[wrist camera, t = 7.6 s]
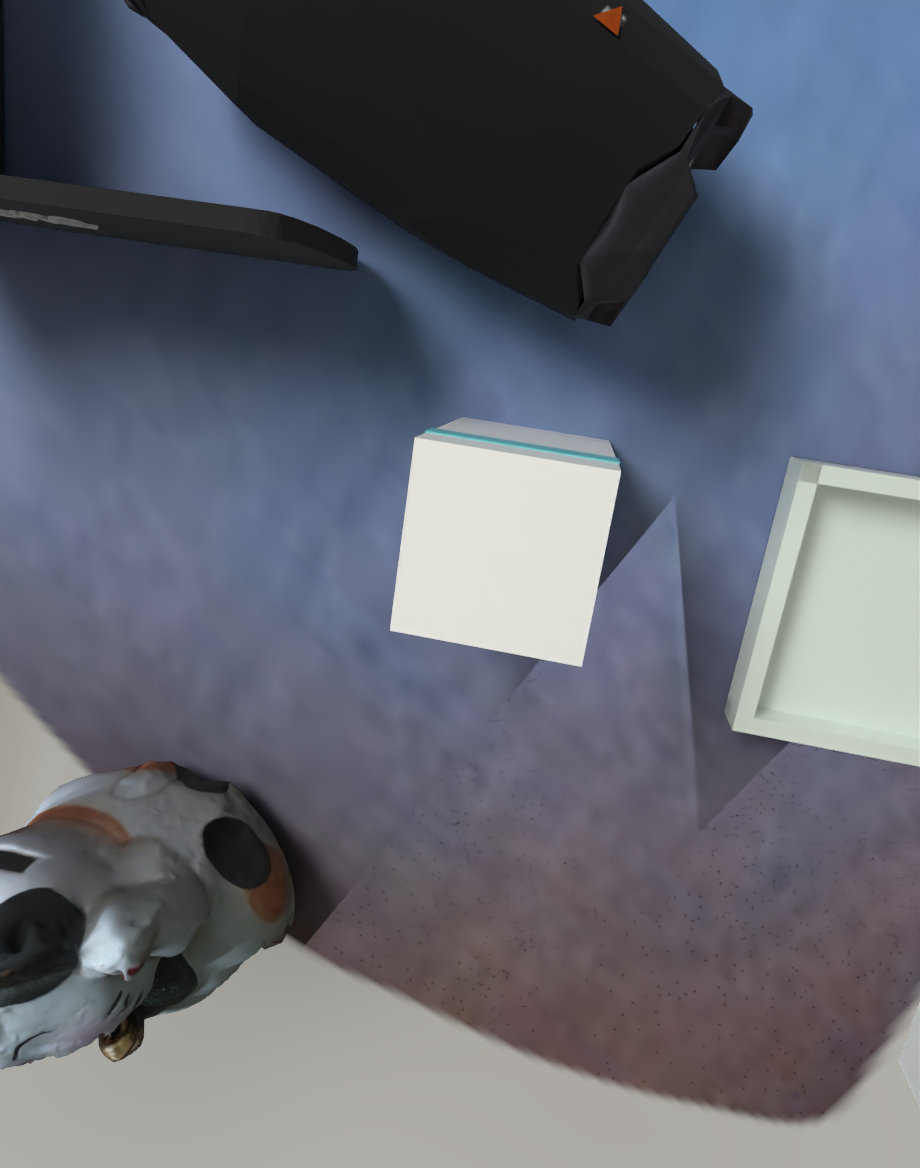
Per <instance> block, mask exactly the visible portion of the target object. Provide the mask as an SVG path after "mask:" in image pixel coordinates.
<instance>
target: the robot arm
mask: <svg viewBox="0 0 920 1168" xmlns="http://www.w3.org/2000/svg"><path fill="white" fill-rule="evenodd" d="M898 1063H899V1066H900V1068H901V1070H902V1072H903V1074H904V1077H905V1079H906V1081H907V1083H908V1085H909V1087H910V1089H911V1091H912V1094H913V1096H914V1098H915V1100H916V1102H917V1104H918V1107H919V1109H920V1002H919V1005H918V1007H917V1010H916V1013H915V1015H914V1018H913V1021H912V1024H911V1026H910V1029H909V1032H908V1034H907V1037H906V1040H905V1043H904V1045H903V1048H902V1051H901V1053H900V1056H899V1059H898Z"/></svg>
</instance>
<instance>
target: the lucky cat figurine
mask: <svg viewBox="0 0 920 1168" xmlns="http://www.w3.org/2000/svg"><path fill="white" fill-rule="evenodd" d="M294 916H295V895H294V887H293V882H292V877H291V874H290V871H289V867H288V864H287V861H286V858H285V856H284V853H283V851H282V849H281V848H280V846H279V844H278V842H277V840H276V839H275V837H274V833H273V832H272V831H271V829H270V828H269V826H267V824H266V821H265V820H264V819H263V818H262V817H261V816H260V815H259V813H258V812H257V811H256V810H255V809H254V808H253V806H252V805H251V804H250V803H249V802H248V801H247V800H246V798H245V797H244V796H243V795H242V793H241V792H240V790H239V789H238V788H237V787H235V786H234V784H233V783H232V782H226V781H201V780H200V779H199V778H198V777H196V776H195V775H194V774H193V773H192V772H190V771H189V770H188V769H187V768H184V767H181V766H178V765H177V764H175V763H174V762H171V761H169V762H149V763H146V764H142V765H140V766H136V767H131V768H126V769H121V770H117V771H112V772H106V773H99V774H93V775H88V776H85V777H81V778H77V779H75V780H73V781H71V782H69V783H66V784H64V785H62V786H60V787H59V788H57V789H56V790H54V791H53V792H52V793H51V794H50V795H49V796H48V797H47V798H46V799H45V800H44V801H43V802H42V803H41V805H40V806H39V808H38V809H37V811H36V812H35V814H34V815H33V816H32V817H31V818H30V819H29V820H28V822H27V824H26V825H25V827H23V828H21V829H18V830H16V831H13V832H10V833H7V834H4V835H0V1069H4V1068H7V1067H12V1066H21V1065H24V1064H26V1063H32V1062H33V1061H34V1060H41V1059H43V1058H45V1057H47V1056H53V1055H54V1056H55V1057H56V1058H59V1057H62V1056H67V1055H69V1054H71V1053H73V1052H74V1051H76V1050H78V1049H79V1048H81V1047H85V1046H87V1045H89V1044H91V1043H92V1042H93V1041H94V1040H95V1039H96V1038H99V1047H100V1050H101V1052H102V1053H103V1054H104V1056H105V1057H107V1058H108V1059H109V1060H111V1061H113V1062H115V1061H118V1060H122V1059H124V1058H125V1057H126V1056H128V1055H130V1054H132V1053H133V1052H134V1051H135V1050H137V1048H138V1047H140V1046H141V1043H142V1041H143V1038H144V1020H145V1019H147V1018H150V1017H153V1016H156V1015H159V1014H164V1013H170V1012H175V1011H179V1010H182V1009H185V1008H188V1007H190V1006H192V1005H194V1004H196V1003H198V1002H200V1001H202V1000H203V999H205V998H206V997H207V996H209V995H210V994H211V993H212V992H213V991H214V990H215V989H216V988H217V987H219V986H220V985H222V984H223V983H224V981H226V980H228V978H229V977H230V976H231V975H232V974H233V973H234V972H236V970H237V969H238V968H239V966H240V965H241V964H242V963H243V962H244V961H245V960H247V959H248V958H250V957H251V956H252V955H254V954H255V953H256V952H258V950H259V949H260V948H261V947H263V948H264V949H267V948H269V947H272V946H275V945H277V944H279V943H282V941H283V940H284V938H285V936H286V933H287V931H288V929H289V928H290V925H291V924H292V923H293V920H294Z"/></svg>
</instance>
